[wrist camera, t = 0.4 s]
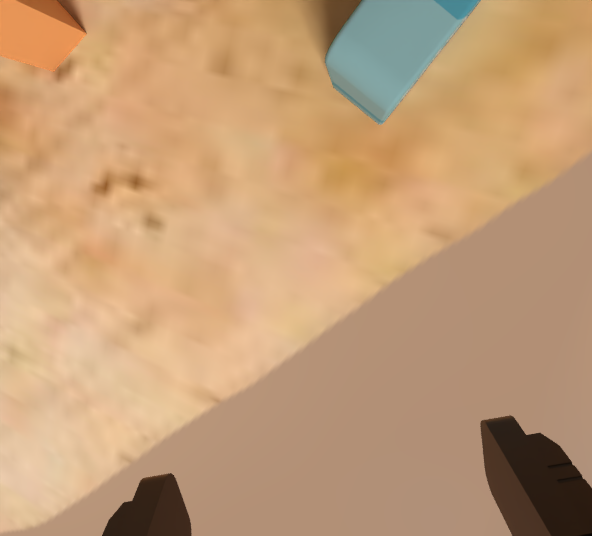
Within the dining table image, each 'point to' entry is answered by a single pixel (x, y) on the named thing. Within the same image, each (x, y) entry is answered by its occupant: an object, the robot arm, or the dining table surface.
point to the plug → (37, 32)
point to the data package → (390, 49)
